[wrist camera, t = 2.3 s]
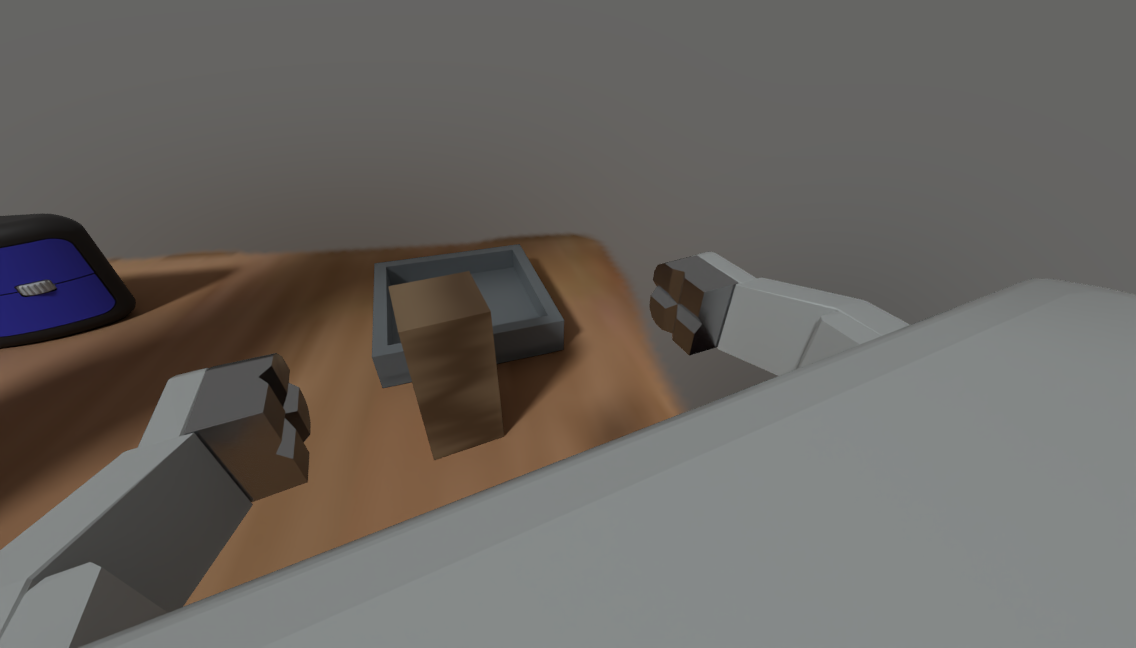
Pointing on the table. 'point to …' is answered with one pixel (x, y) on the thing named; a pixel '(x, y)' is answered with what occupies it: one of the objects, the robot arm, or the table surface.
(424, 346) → the walnut block
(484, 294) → the tray
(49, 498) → the table surface
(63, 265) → the blue scroll wheel mouse
